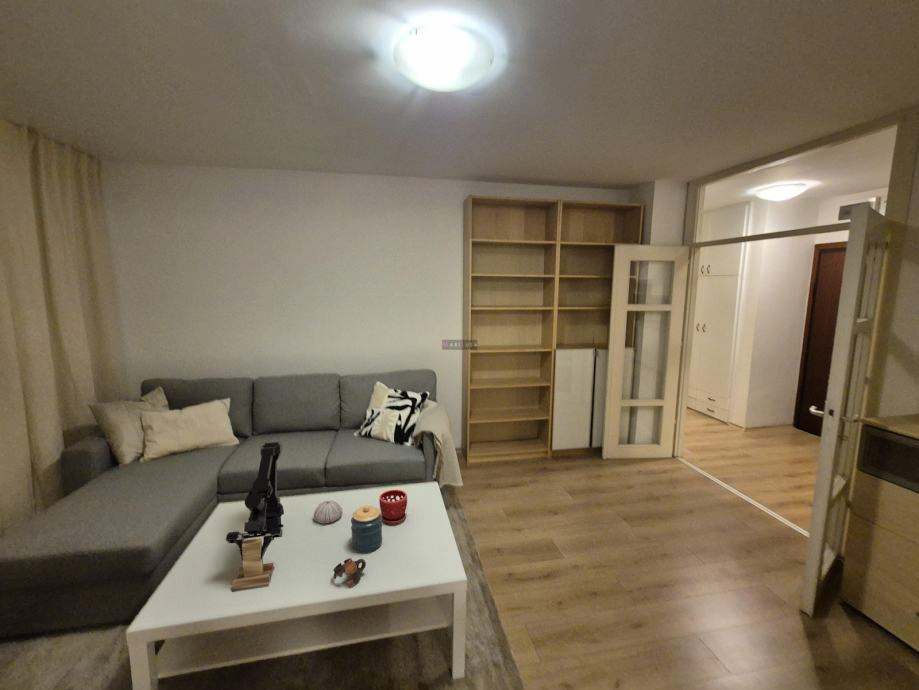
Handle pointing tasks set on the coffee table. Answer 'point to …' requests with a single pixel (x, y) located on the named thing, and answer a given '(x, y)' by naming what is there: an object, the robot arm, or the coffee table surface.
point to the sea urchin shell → (327, 512)
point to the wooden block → (252, 557)
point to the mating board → (253, 579)
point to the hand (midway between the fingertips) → (251, 559)
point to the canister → (366, 529)
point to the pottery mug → (350, 570)
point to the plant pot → (393, 506)
